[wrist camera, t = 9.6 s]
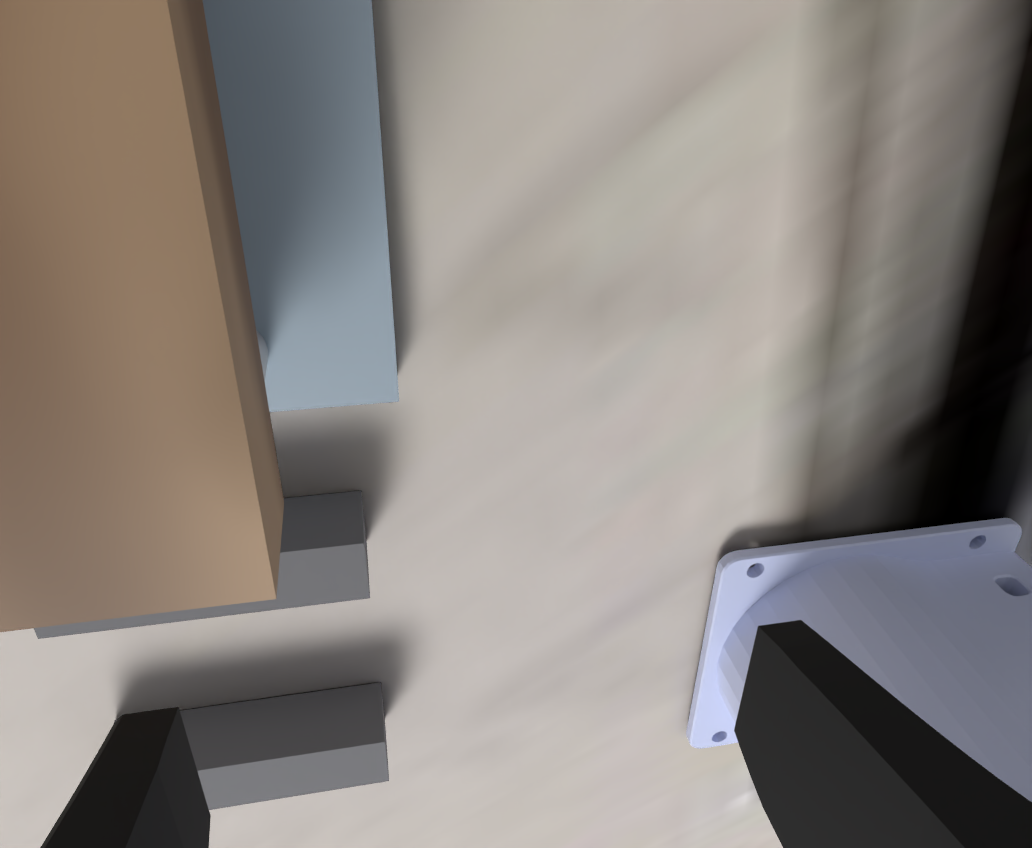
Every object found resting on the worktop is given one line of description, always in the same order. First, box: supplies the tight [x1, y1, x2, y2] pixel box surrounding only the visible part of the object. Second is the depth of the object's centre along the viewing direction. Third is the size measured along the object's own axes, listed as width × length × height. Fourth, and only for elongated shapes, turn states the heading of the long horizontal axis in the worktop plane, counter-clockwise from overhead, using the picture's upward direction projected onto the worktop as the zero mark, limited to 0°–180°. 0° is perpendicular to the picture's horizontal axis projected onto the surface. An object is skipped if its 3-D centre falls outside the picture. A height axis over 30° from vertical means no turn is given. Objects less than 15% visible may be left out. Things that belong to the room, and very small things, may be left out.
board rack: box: [34, 491, 389, 810], centre depth 20 cm, size 7×8×2 cm
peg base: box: [203, 0, 399, 412], centre depth 13 cm, size 9×10×4 cm
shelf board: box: [0, 0, 284, 632], centre depth 10 cm, size 4×10×2 cm, turn 179°
